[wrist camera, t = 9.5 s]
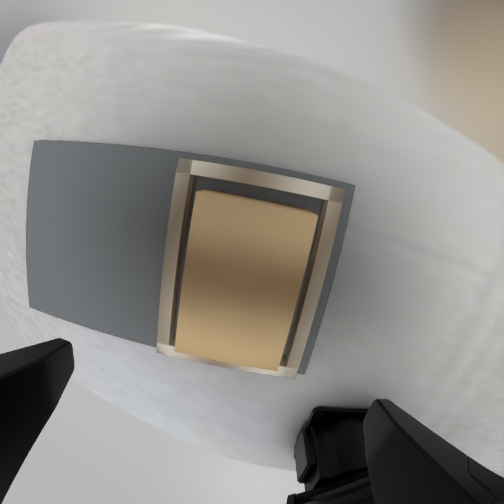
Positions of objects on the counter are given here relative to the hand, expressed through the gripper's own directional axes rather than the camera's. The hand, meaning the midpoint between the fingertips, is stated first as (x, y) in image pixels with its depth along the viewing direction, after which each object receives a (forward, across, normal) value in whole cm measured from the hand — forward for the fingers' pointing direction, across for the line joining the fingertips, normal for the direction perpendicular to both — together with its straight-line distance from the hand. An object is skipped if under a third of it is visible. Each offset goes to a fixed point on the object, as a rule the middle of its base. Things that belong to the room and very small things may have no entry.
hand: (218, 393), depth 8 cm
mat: (+12, +5, 0) cm, 13 cm away
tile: (+11, 0, 0) cm, 11 cm away
